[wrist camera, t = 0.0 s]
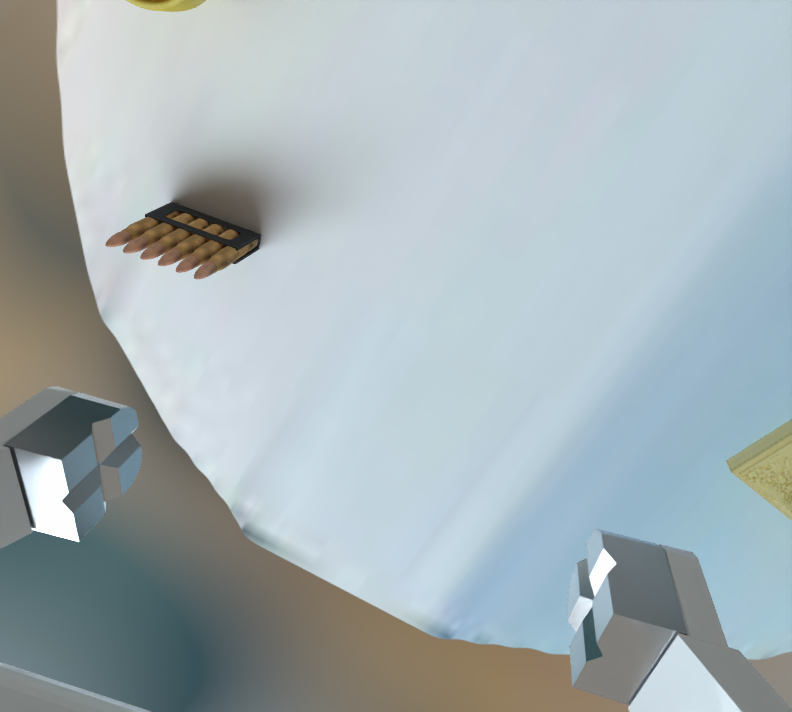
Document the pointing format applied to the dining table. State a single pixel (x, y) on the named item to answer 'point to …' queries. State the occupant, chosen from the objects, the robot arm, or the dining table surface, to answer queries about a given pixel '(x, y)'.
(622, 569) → the robot arm
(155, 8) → the plant pot
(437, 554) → the dining table surface
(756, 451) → the statue on rocky mound
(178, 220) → the ammunition clip
